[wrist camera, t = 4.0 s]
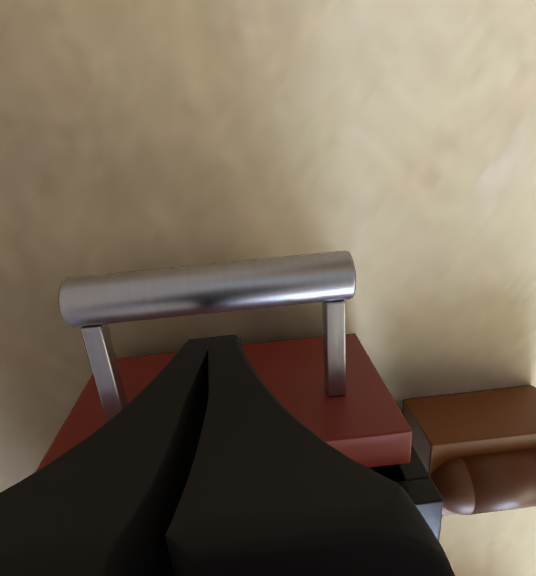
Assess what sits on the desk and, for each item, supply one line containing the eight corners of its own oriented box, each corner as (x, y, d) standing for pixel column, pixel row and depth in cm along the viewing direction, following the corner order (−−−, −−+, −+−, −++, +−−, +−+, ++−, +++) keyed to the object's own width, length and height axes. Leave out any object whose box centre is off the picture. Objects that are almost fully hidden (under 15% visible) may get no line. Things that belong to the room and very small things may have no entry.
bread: (399, 466, 21) (438, 546, 17) (403, 399, 19) (447, 470, 15) (518, 451, 21) (585, 527, 17) (532, 384, 19) (609, 451, 15)
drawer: (69, 247, 14) (-31, 317, 9) (355, 220, 15) (424, 272, 9) (156, 566, 21) (129, 719, 15) (354, 541, 21) (394, 681, 16)
